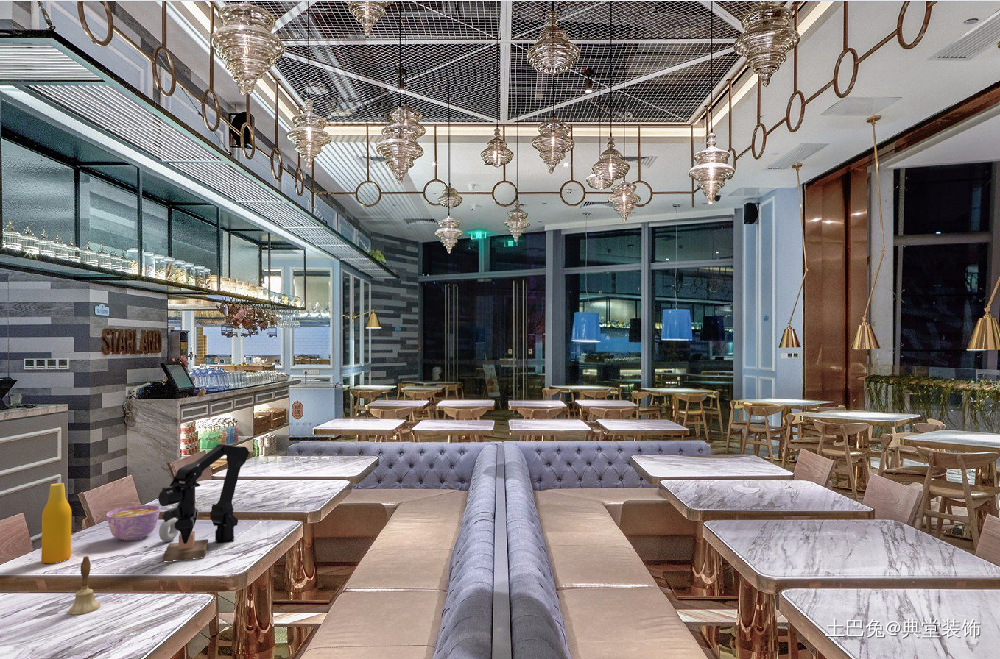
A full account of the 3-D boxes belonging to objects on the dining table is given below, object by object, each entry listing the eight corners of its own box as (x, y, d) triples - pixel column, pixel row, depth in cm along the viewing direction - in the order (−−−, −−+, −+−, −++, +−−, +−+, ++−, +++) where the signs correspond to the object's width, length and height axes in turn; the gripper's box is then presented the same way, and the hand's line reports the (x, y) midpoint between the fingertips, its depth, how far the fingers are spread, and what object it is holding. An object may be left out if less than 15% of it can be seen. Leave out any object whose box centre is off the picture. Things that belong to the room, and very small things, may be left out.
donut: (164, 545, 245) (164, 520, 246) (156, 545, 246) (157, 520, 246) (181, 537, 255) (181, 514, 256) (173, 537, 256) (173, 513, 256)
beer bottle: (36, 565, 223) (37, 487, 224) (47, 557, 232) (48, 482, 233) (65, 563, 226) (65, 485, 227) (75, 555, 235) (76, 480, 236)
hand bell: (78, 604, 189) (79, 553, 189) (106, 602, 189) (106, 552, 190) (61, 615, 180) (62, 562, 181) (90, 614, 181) (91, 561, 182)
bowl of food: (96, 547, 244) (97, 518, 244) (117, 532, 263) (117, 506, 264) (150, 543, 248) (151, 515, 248) (167, 529, 267) (167, 503, 268)
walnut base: (208, 546, 243) (208, 539, 243) (204, 557, 230) (204, 549, 230) (169, 551, 238) (169, 543, 238) (163, 562, 225) (163, 554, 225)
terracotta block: (194, 543, 238) (194, 531, 238) (193, 547, 233) (193, 534, 233) (180, 545, 236) (180, 532, 236) (178, 549, 231) (178, 536, 231)
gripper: (167, 496, 241) (167, 535, 240) (159, 508, 223) (159, 550, 223) (198, 494, 245) (198, 532, 244) (192, 504, 227) (192, 546, 227)
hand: (186, 540), depth 234 cm, fingers open, 9 cm apart
